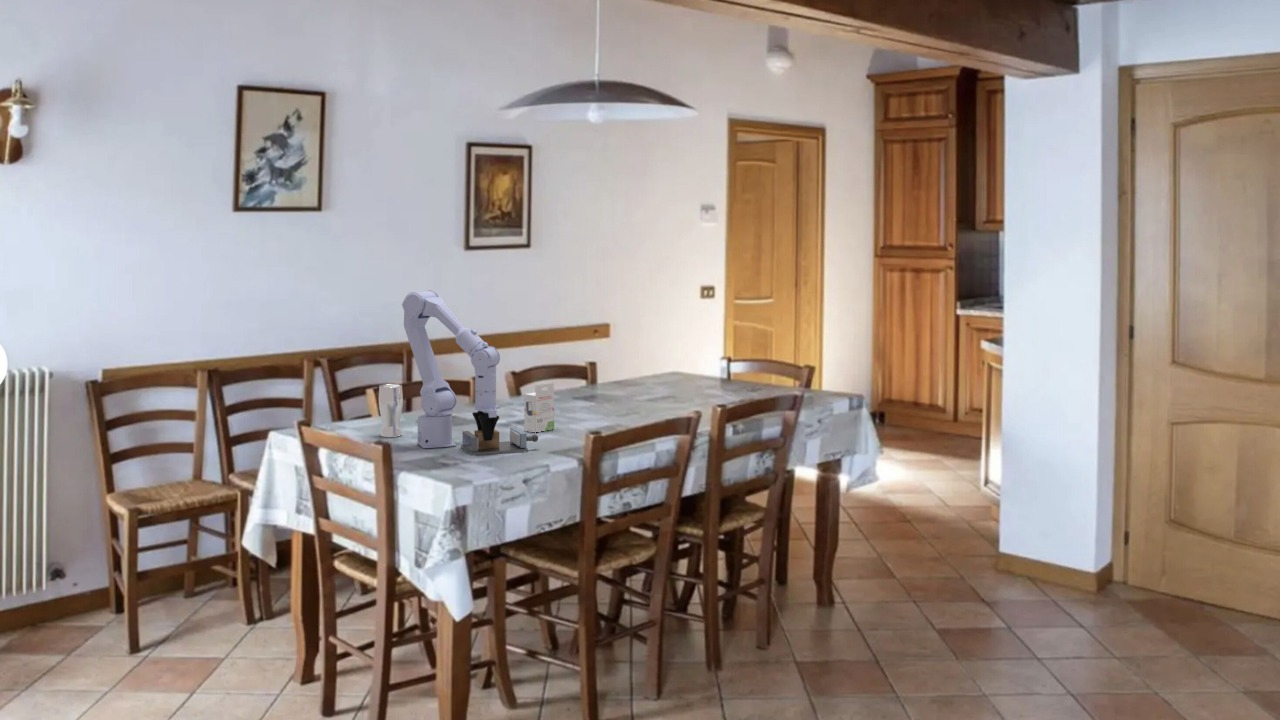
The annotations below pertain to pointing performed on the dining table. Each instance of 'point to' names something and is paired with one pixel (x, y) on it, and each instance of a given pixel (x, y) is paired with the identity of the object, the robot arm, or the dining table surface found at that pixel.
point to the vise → (504, 447)
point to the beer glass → (390, 409)
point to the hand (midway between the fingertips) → (485, 438)
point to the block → (487, 444)
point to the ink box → (539, 409)
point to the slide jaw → (521, 437)
